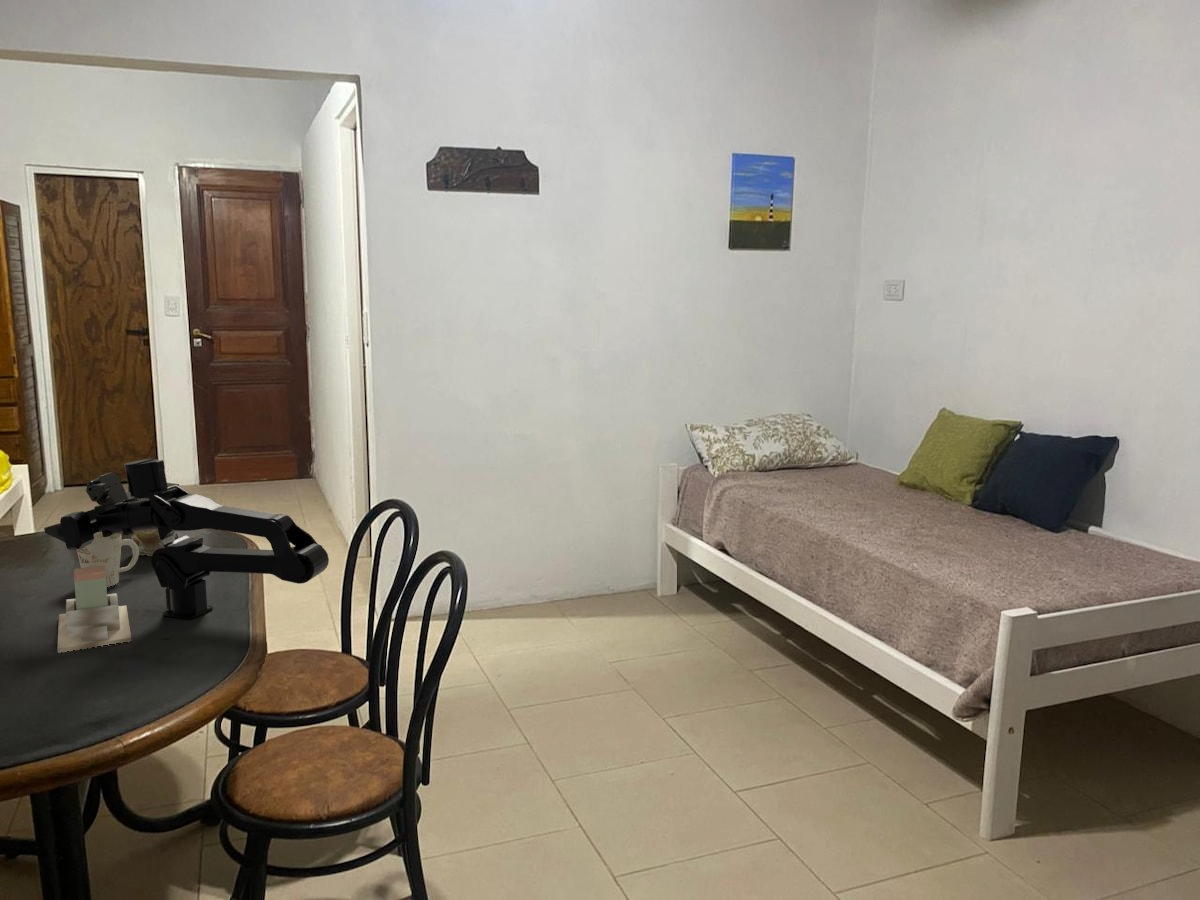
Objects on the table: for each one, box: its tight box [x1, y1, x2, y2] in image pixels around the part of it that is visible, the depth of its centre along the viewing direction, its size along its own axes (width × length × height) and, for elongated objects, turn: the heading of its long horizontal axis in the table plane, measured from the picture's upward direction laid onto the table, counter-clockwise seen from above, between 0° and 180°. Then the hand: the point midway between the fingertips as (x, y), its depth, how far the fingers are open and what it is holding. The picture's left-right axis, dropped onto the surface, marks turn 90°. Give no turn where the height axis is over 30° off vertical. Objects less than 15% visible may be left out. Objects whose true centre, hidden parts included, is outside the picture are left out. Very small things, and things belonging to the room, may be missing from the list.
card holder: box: [57, 592, 132, 654], centre depth 163 cm, size 11×18×5 cm, turn 29°
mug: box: [76, 531, 140, 588], centre depth 188 cm, size 8×13×10 cm, turn 152°
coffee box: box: [127, 482, 183, 557], centre depth 208 cm, size 9×6×16 cm
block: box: [73, 565, 108, 610], centre depth 162 cm, size 5×5×8 cm
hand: (62, 523), depth 173 cm, fingers open, 9 cm apart
